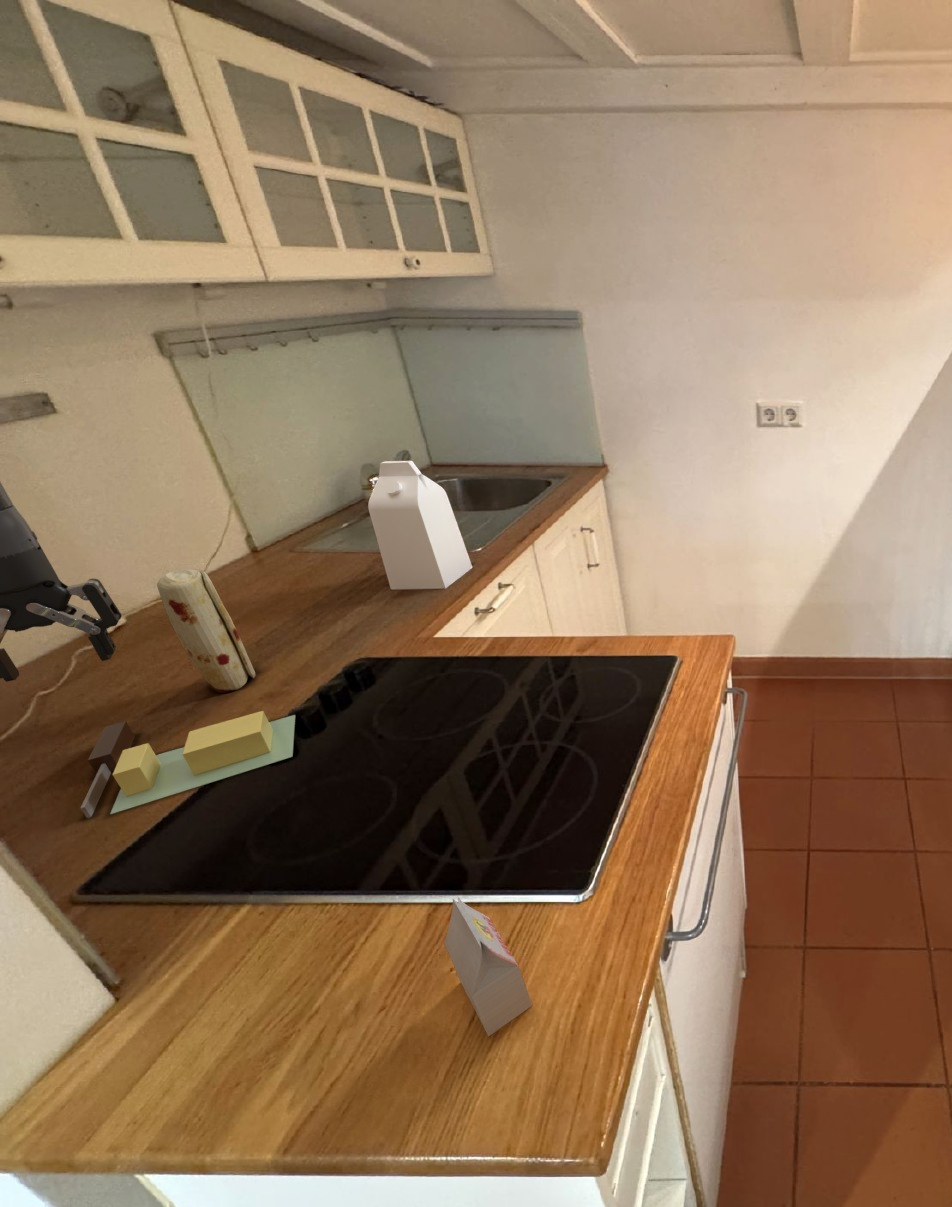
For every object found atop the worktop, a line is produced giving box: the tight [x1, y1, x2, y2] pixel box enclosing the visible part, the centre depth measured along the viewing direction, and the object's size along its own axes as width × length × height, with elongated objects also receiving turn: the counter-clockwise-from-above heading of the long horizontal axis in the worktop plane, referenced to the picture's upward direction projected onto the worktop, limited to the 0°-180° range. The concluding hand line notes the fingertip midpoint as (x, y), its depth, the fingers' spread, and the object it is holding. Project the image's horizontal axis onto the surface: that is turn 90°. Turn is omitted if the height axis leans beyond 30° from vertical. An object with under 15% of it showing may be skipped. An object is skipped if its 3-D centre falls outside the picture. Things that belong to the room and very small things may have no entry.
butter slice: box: [112, 742, 161, 796], centre depth 84 cm, size 2×6×4 cm, turn 35°
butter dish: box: [109, 714, 296, 815], centre depth 88 cm, size 18×12×1 cm, turn 125°
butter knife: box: [80, 720, 136, 819], centre depth 86 cm, size 2×19×4 cm, turn 35°
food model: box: [156, 568, 256, 694], centre depth 103 cm, size 10×7×20 cm
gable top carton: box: [444, 895, 533, 1037], centre depth 56 cm, size 4×7×10 cm, turn 44°
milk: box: [367, 460, 473, 591], centre depth 140 cm, size 12×12×26 cm
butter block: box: [182, 710, 273, 775], centre depth 89 cm, size 8×6×4 cm
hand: (62, 667), depth 84 cm, fingers open, 8 cm apart
